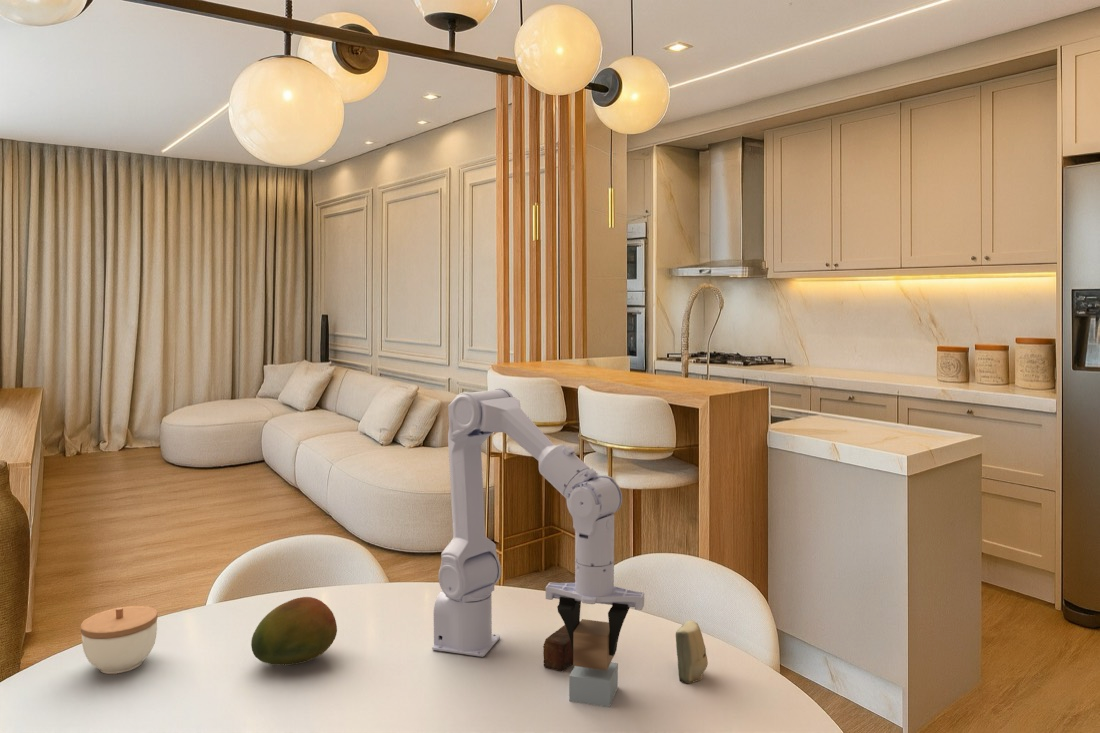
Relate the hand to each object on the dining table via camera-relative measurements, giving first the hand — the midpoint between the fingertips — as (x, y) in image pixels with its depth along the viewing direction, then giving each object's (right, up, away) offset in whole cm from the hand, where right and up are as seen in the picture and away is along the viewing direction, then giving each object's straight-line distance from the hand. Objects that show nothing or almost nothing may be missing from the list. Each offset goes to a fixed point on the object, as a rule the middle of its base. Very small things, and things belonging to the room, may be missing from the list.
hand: (594, 650), depth 111 cm
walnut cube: (0, -2, 0) cm, 2 cm away
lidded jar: (-76, -6, +10) cm, 76 cm away
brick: (-4, -6, +13) cm, 15 cm away
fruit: (-48, -6, +11) cm, 50 cm away
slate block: (0, -7, 0) cm, 7 cm away
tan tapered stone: (+15, -7, +6) cm, 18 cm away
